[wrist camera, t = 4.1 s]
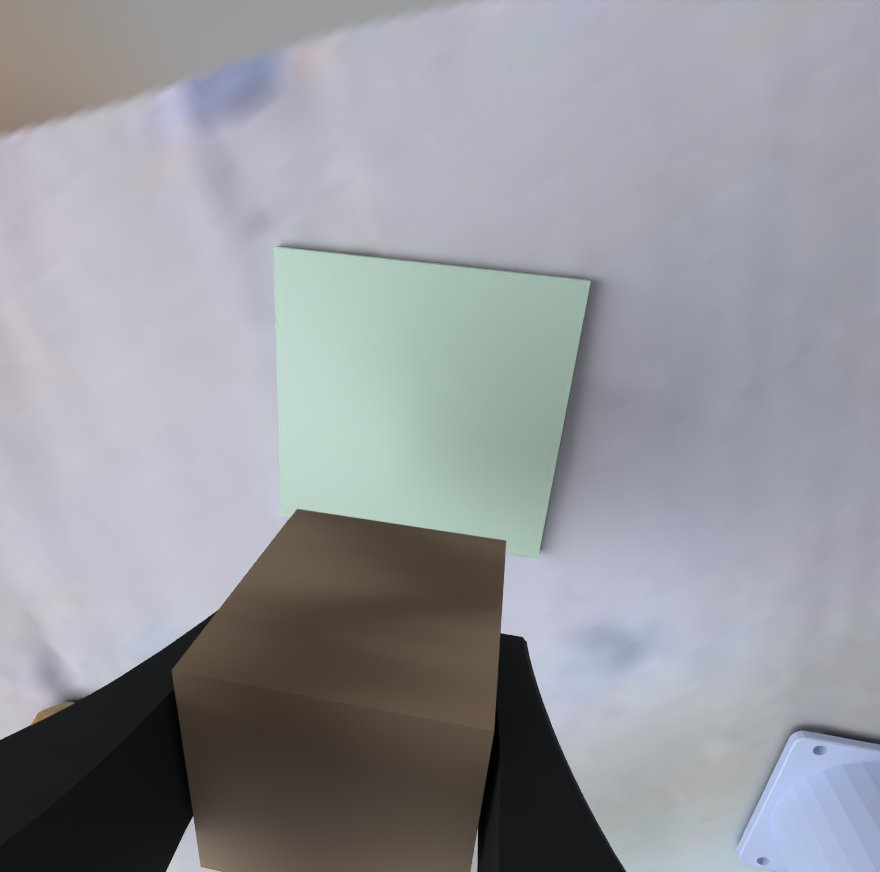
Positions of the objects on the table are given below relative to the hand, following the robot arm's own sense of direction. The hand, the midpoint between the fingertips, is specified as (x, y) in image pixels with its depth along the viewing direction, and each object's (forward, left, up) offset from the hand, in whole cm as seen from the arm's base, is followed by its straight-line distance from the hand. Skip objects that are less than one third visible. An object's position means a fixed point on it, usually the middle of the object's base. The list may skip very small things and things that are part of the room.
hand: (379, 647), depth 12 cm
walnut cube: (0, 0, -2) cm, 2 cm away
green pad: (+1, -3, -9) cm, 9 cm away
